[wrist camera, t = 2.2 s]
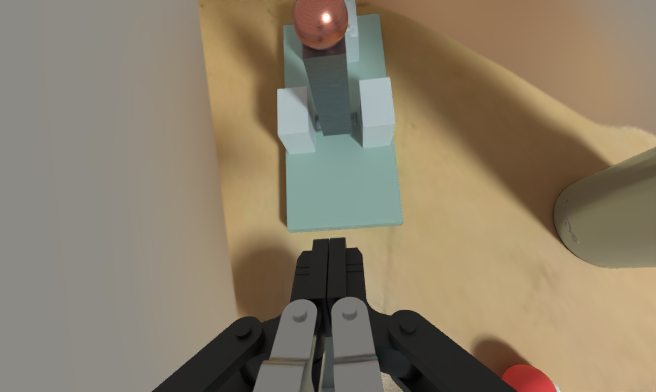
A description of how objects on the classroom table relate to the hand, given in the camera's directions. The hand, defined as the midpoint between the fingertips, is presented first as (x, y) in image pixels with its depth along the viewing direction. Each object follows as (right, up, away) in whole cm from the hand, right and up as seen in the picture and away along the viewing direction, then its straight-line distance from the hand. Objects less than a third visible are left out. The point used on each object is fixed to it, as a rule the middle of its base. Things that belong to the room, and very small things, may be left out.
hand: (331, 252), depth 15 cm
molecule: (+17, -15, +14) cm, 27 cm away
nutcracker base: (+1, +12, +23) cm, 26 cm away
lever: (+1, +11, +18) cm, 21 cm away
